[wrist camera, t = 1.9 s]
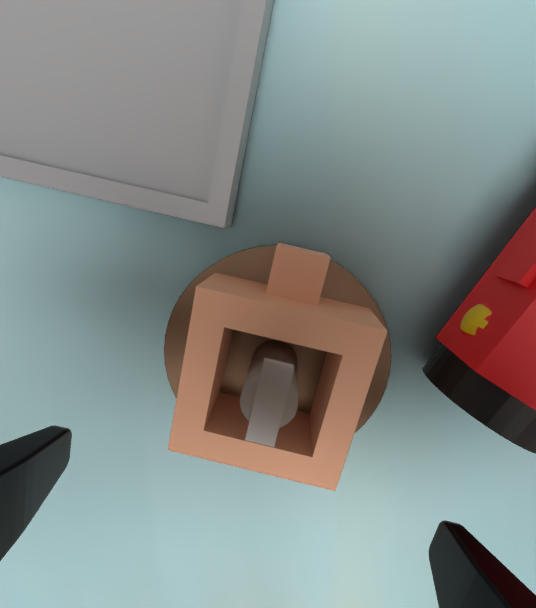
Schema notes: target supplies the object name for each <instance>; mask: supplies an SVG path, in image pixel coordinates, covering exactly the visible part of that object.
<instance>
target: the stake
mask: <svg viewBox="0 0 536 608" xmlns="http://www.w3.org/2000/svg"><path fill="white" fill-rule="evenodd" d="M276 246H277V245H270V246H260V247H254V248H250V249H246V250H242V251H239V252H237V253H234V254H232V255H229V256H227V257H226V258H224V259H222V260H220V261H218V262H217V263H215V264H213V265H211V266H210V267H209V268H207V269H206V270H205V271H203V272H202V273H201V274H199V275H198V276H197V277H196V278H195V279H194V280H193V281H192V282H191V283H190V284H189V285H188V287H187V288H186V289H185V291H184V292H183V293H182V295H181V296H180V298H179V300H178V301H177V303H176V305H175V307H174V309H173V311H172V314H171V316H170V319H169V322H168V326H167V330H166V334H165V345H164V356H165V366H166V371H167V376H168V379H169V382H170V385H171V388H172V390H173V392H174V395H175V397H176V399H177V394H178V388H179V383H180V377H181V371H182V365H183V359H184V354H185V348H186V342H187V336H188V330H189V325H190V319H191V313H192V307H193V301H194V296H195V290H196V286H197V285H199V284H200V283H201V282H203V281H204V280H206V279H207V278H208V277H210V276H211V275H213V274H214V273H215V272H216V273H221V274H225V275H229V276H233V277H238V278H242V279H246V280H251V281H255V282H259V283H263V284H268V281H269V277H270V272H271V268H272V263H273V259H274V255H275V250H276ZM320 297H323V298H328V299H332V300H336V301H340V302H345V303H349V304H353V305H357V306H362V307H366V308H370V309H371V311H372V312H373V313H374V315H375V316H376V317H377V318H378V320H379V321H380V322H381V323H382V325H383V326H384V327H385V329H386V330H387V327H386V324H385V321H384V318H383V316H382V314H381V312H380V310H379V308H378V306H377V304H376V302H375V301H374V299H373V298H372V296H371V295H370V294H369V292H368V291H367V290H366V289H365V288H364V286H363V285H362V284H361V283H360V282H359V281H358V280H357V279H356V278H355V277H354V276H353V275H352V274H351V273H350V272H348V271H347V270H346V269H345V268H344V267H342V266H341V265H339V264H338V263H336V262H334V261H333V260H331V259H330V262H329V266H328V269H327V273H326V277H325V281H324V284H323V288H322V292H321V295H320ZM326 354H327V352H326V351H322V350H318V349H314V348H309V347H305V346H301V345H297V344H293V343H288V342H284V341H280V340H276V339H271V338H267V337H263V336H259V335H255V334H250V333H246V332H242V331H238V330H234V329H233V332H232V337H231V342H230V346H229V351H228V356H227V361H226V366H225V371H224V375H223V380H222V385H221V390H220V392H221V393H225V394H230V395H234V396H238V397H240V407H241V411H242V413H243V415H244V416H245V417H246V419H247V420H248V421H249V425H248V430H247V434H246V438H245V440H246V441H251V442H255V443H259V444H263V445H267V446H271V447H274V446H275V442H276V438H277V434H278V430H279V428H280V427H282V426H285V425H286V424H288V423H289V422H290V421H291V420H292V419H293V418H294V416H295V414H296V412H297V411H300V412H304V413H308V414H310V411H311V407H312V404H313V400H314V397H315V393H316V390H317V386H318V382H319V379H320V375H321V372H322V368H323V365H324V361H325V358H326ZM390 365H391V345H390V340H389V334H388V330H387V334H386V337H385V341H384V344H383V347H382V350H381V353H380V356H379V359H378V362H377V365H376V368H375V371H374V374H373V377H372V380H371V383H370V386H369V390H368V393H367V396H366V399H365V402H364V405H363V408H362V411H361V414H360V417H359V420H358V423H357V426H356V429H355V432H357V431H358V430H359V429H360V428H361V427H362V426H363V425H364V424H365V423H366V421H367V420H368V419H369V418H370V416H371V415H372V414H373V413H374V411H375V409H376V408H377V406H378V404H379V402H380V401H381V398H382V396H383V394H384V391H385V389H386V386H387V382H388V378H389V374H390ZM355 432H354V433H355Z"/></svg>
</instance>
